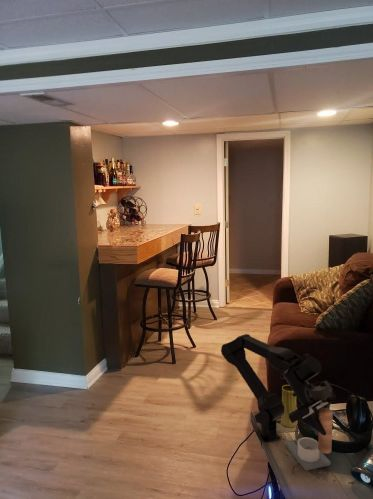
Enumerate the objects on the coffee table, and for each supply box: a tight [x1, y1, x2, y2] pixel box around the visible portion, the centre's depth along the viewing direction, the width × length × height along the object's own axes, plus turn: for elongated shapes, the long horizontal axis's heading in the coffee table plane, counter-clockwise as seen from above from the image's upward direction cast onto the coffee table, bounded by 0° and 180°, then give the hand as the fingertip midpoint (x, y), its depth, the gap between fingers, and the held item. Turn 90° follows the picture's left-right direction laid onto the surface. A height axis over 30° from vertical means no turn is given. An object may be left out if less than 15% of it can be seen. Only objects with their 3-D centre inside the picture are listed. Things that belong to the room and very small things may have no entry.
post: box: [317, 408, 334, 454], centre depth 122 cm, size 4×4×13 cm
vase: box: [280, 384, 298, 428], centre depth 149 cm, size 6×6×14 cm
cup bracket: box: [284, 436, 331, 472], centre depth 131 cm, size 13×9×5 cm
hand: (329, 432), depth 121 cm, fingers closed on post, 4 cm apart
